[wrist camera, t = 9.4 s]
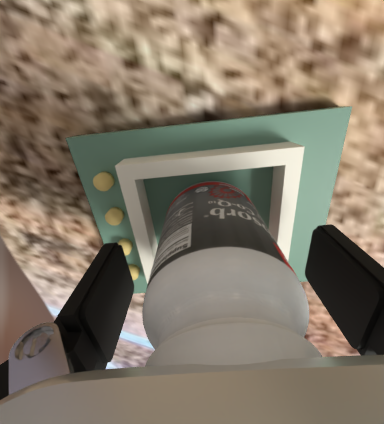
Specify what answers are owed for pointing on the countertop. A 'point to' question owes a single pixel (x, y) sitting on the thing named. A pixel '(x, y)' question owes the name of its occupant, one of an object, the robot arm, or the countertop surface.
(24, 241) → the countertop surface
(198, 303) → the pill bottle
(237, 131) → the board
